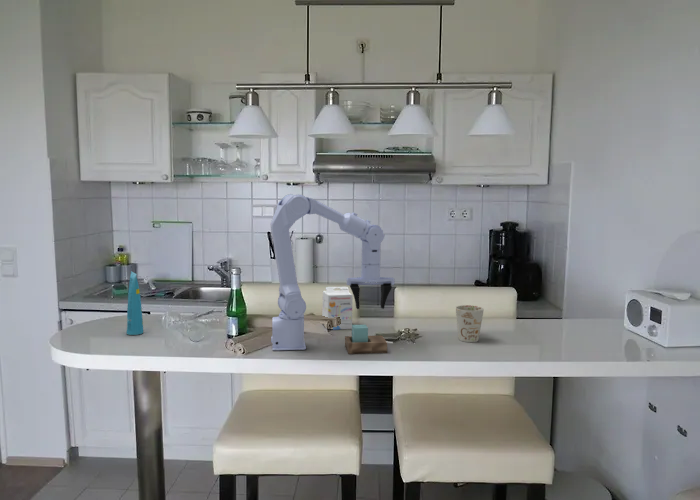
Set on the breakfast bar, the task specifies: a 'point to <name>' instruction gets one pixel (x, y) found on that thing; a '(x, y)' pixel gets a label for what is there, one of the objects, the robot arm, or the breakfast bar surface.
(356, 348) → the walnut base
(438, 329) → the breakfast bar surface
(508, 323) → the breakfast bar surface
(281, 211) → the robot arm
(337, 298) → the ink box
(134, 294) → the tube
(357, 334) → the teal block
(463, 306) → the mug
